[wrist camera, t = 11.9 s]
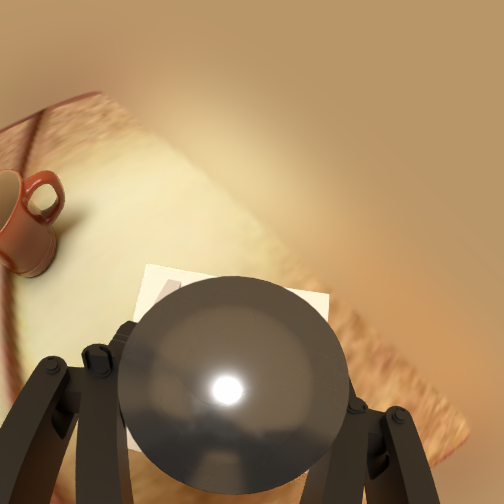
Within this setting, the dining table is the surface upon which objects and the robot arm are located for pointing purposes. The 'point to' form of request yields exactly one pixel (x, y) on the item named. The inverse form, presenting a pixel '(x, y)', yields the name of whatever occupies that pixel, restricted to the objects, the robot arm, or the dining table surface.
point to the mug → (27, 222)
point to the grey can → (233, 385)
